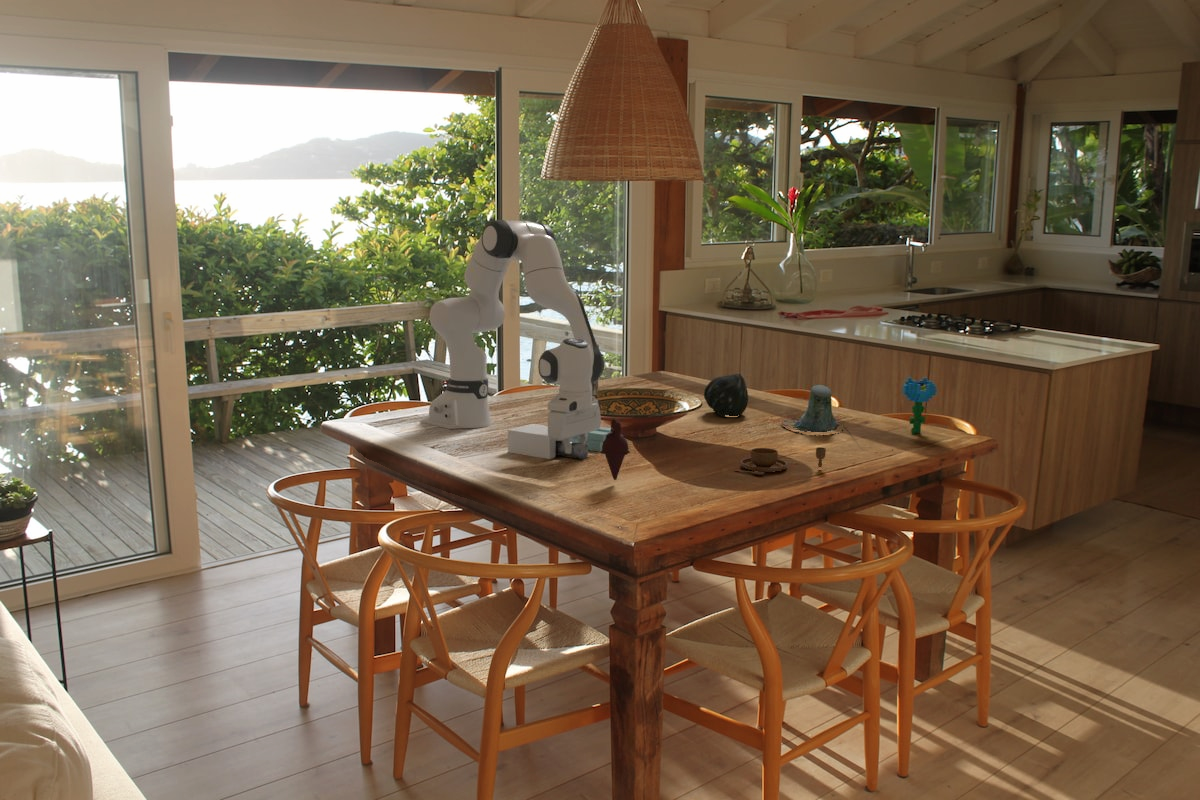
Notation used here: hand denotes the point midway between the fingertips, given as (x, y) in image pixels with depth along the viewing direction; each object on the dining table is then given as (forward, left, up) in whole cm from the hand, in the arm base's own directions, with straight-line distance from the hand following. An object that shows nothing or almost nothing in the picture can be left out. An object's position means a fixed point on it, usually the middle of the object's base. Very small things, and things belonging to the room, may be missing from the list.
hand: (575, 451), depth 276 cm
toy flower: (+68, +79, -2) cm, 104 cm away
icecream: (+22, -14, -2) cm, 26 cm away
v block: (-4, +16, -2) cm, 17 cm away
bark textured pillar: (-26, +44, -2) cm, 51 cm away
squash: (+9, +73, -2) cm, 74 cm away
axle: (-4, 0, -2) cm, 4 cm away
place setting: (+50, +21, -2) cm, 54 cm away
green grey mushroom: (+37, +73, -4) cm, 82 cm away
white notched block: (-11, 0, -2) cm, 12 cm away
